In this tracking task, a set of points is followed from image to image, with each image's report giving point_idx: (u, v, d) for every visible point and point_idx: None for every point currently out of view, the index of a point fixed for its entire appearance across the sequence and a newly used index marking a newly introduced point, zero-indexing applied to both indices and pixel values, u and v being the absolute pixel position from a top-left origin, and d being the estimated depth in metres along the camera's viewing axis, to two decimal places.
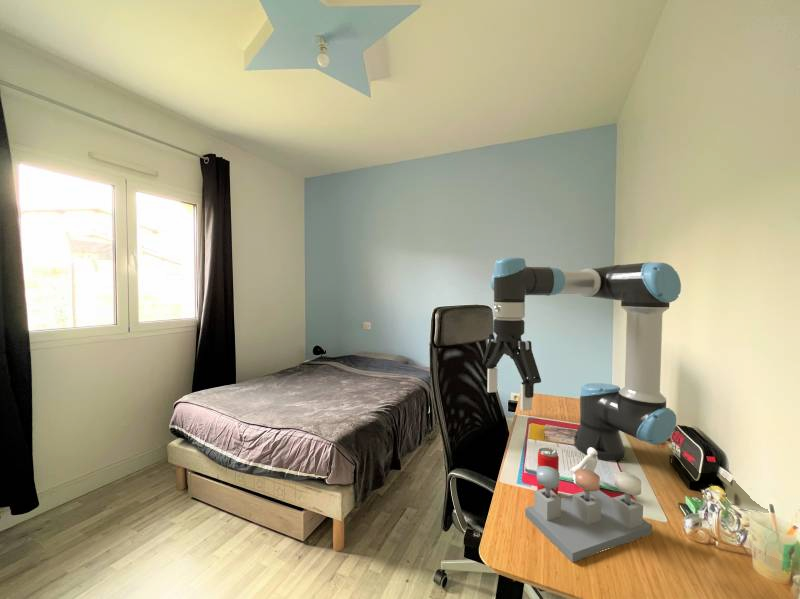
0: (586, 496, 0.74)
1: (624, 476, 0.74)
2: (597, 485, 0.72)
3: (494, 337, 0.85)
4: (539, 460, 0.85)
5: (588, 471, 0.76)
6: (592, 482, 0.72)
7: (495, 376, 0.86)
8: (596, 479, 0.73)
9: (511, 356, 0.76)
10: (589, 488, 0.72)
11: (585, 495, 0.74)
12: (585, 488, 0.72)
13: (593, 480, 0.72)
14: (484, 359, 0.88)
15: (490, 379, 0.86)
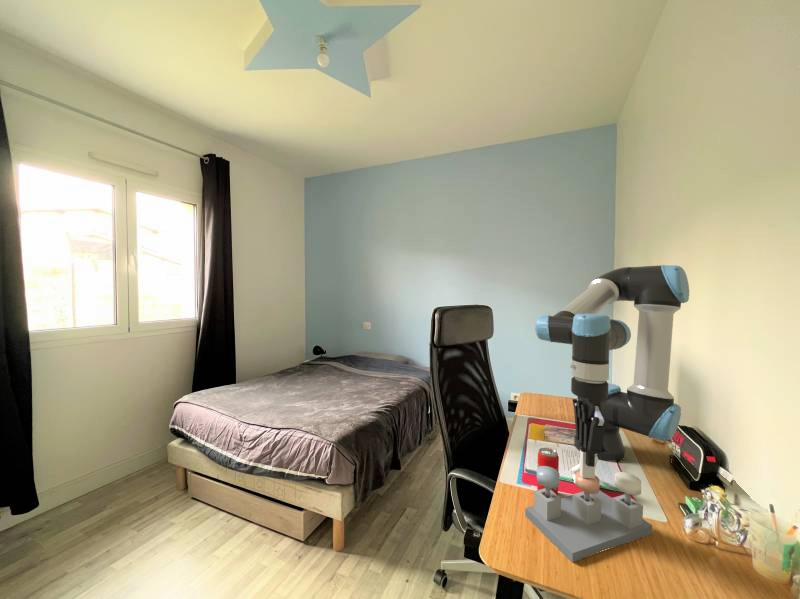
0: (586, 499, 0.74)
1: (624, 476, 0.74)
2: (597, 487, 0.72)
3: (577, 400, 0.79)
4: (539, 460, 0.85)
5: None
6: (592, 485, 0.72)
7: None
8: (596, 481, 0.73)
9: (583, 420, 0.73)
10: (589, 490, 0.72)
11: (585, 497, 0.74)
12: (585, 490, 0.72)
13: (593, 482, 0.72)
14: (576, 433, 0.77)
15: None
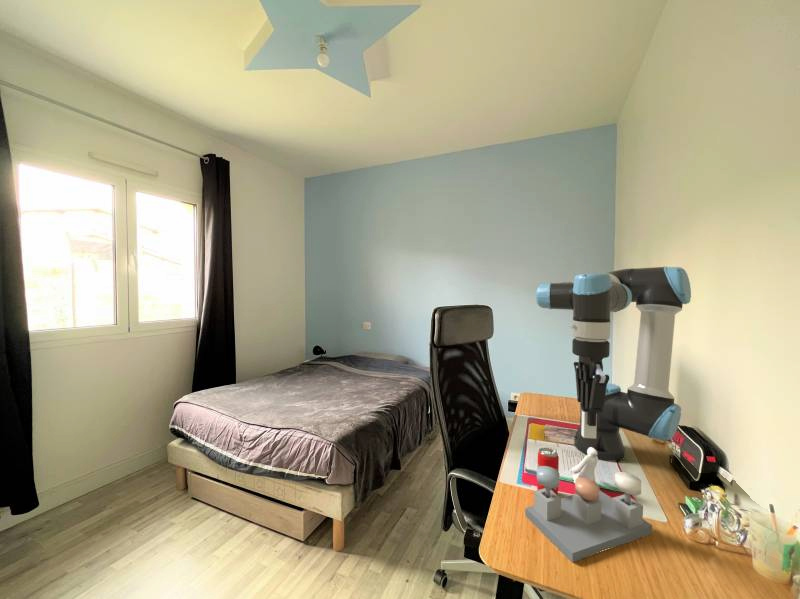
0: None
1: (624, 476, 0.74)
2: (596, 494, 0.72)
3: None
4: (539, 460, 0.85)
5: (588, 480, 0.76)
6: (591, 492, 0.72)
7: None
8: (596, 488, 0.73)
9: (584, 380, 0.73)
10: (588, 497, 0.72)
11: None
12: (585, 497, 0.73)
13: (593, 489, 0.72)
14: (578, 395, 0.77)
15: None
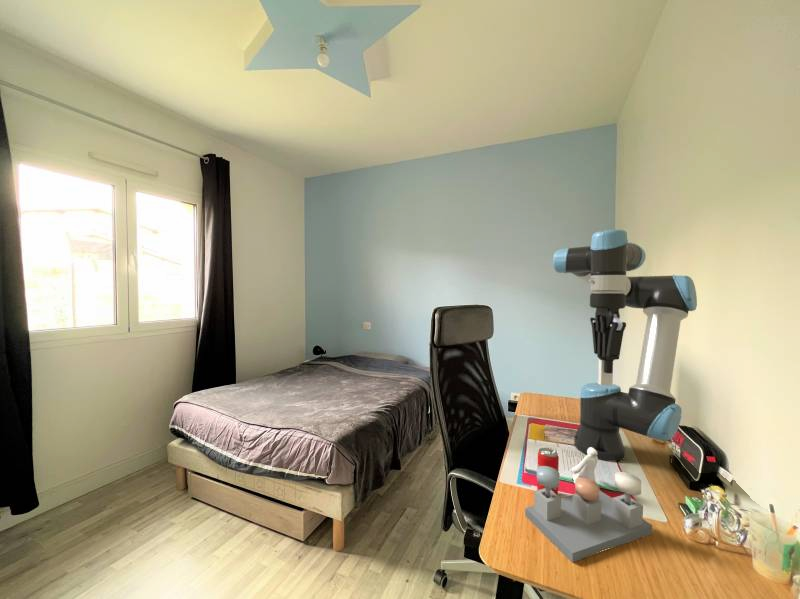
0: None
1: (624, 476, 0.74)
2: (596, 494, 0.72)
3: None
4: (539, 460, 0.85)
5: (588, 480, 0.76)
6: (591, 492, 0.72)
7: None
8: (596, 488, 0.73)
9: (601, 331, 0.78)
10: (588, 497, 0.72)
11: None
12: (585, 497, 0.73)
13: (593, 489, 0.72)
14: (594, 347, 0.82)
15: None
